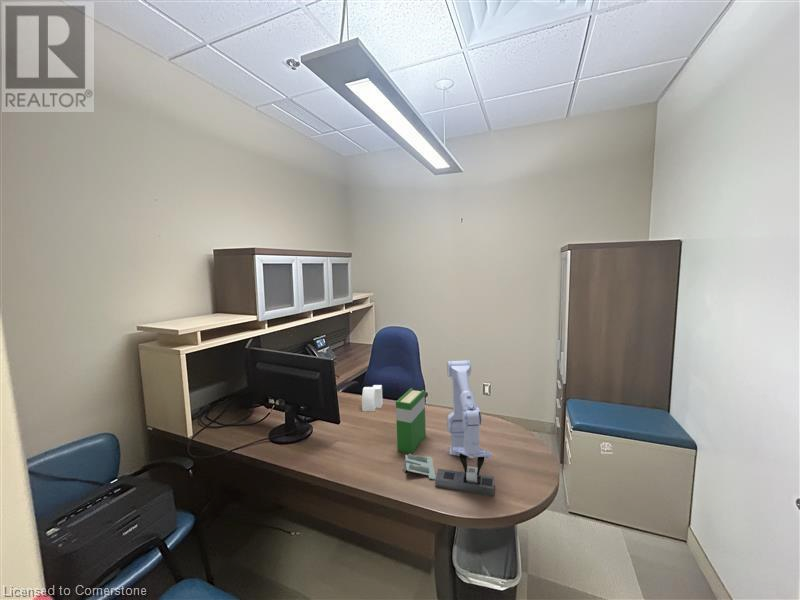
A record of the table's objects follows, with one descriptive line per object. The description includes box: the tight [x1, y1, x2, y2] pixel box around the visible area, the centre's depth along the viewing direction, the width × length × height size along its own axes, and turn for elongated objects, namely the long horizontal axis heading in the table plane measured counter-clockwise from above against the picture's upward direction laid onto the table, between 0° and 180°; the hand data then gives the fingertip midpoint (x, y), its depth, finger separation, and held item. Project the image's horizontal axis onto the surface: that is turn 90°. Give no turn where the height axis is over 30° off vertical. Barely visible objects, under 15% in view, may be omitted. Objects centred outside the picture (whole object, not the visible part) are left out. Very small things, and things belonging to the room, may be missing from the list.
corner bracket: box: [361, 384, 384, 412], centre depth 202 cm, size 11×11×12 cm
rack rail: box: [434, 468, 495, 497], centre depth 130 cm, size 7×22×3 cm, turn 73°
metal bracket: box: [401, 453, 437, 481], centre depth 141 cm, size 14×6×15 cm
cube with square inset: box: [465, 465, 478, 485], centre depth 128 cm, size 4×4×4 cm
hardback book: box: [395, 387, 427, 455], centre depth 160 cm, size 18×7×24 cm, turn 155°
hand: (472, 473), depth 128 cm, fingers closed on cube with square inset, 4 cm apart
